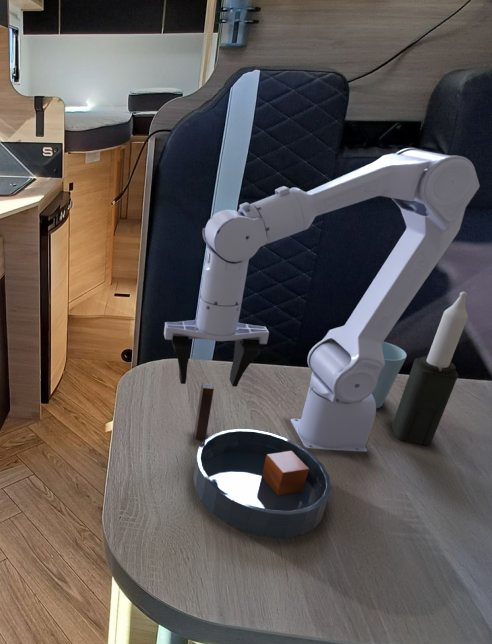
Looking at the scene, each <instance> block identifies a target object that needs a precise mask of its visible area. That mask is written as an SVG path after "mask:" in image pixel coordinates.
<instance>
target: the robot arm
mask: <svg viewBox="0 0 492 644" xmlns="http://www.w3.org/2000/svg"><path fill="white" fill-rule="evenodd" d="M479 188H480V181H479V178H478V175H477V171H476V168H475V166H474V163H473V162H472V161H471V160H470V159H468V158H467V157H465V156H461V155H448V154H443V153H438V152H433V151H426V150H423V149H420V148H416V147H407V148H403V149H400V150H398V151H396V152H395V153H389V154H384V155H382V156H381V157H379V158H378V159H376V160H375V161H373V162H371V163H369V164H365V166H362V167H360V168H357V169H355V170H353V171H351V172H348V173H346V174H343V175H342V176H339V177H337V178H335V179H333V180H331V181H328V182H326V183H323V184H322V185H321V184H320V185H319V186H317V187H315V188H313V189H309V190H308V191H304V190H303V189H300V188H298V187H291V188H289V187H287V186H284V185H283V186H280V187H278V188H276V189H274V193H275V194H272V195H270V196H267V197H265V198H262V199H260V200H257V201H254V202H251V203H249V202H243V203H241V204H239V209H238V210H236V209H235V210H234V209H222V210H220V211H217V212H216V213H214V214H213V215H212V216H211V218H210V219H208V221H207V223H206V225H205V227H203V228H202V239H203V241H204V243H205V244H206V245H207V247H206V255H205V262H204V264H203V265H204V266H203V271H202V272H203V273H202V279H201V287H200V294H199V301H198V310H197V317H196V319H193V320H192V319H191V320H182V321H165V322H164V328H163V336H164V340H166V341H167V340H168V341H171V344H172V347H173V351H174V353H175V355H176V359H177V363H178V372H179V373H178V375H179V377H178V378H179V382H180V384H181V385H186V383H187V377H188V376H187V375H188V365H189V359H190V355H191V352H192V349H191V346H190V343H191V342H190V340H209V341H214V342H229V341H231V342H232V341H234V350H233V351H234V352H233V358H232V364H231V369H230V372H229V381H230V384H231V386H232V387H233V388H234V387H238V386H239V383H240V380H241V379H242V377H243V375H244V373H245V372H246V371H247V369H248V367H249V366H250V365H251V363H252V362H253V361H254V360H255V359H256V358H258V357H259V355H260V353H261V347H260V345H267V344H268V340H269V335H270V331H269V330H268V329H267V327H266V326H262V325H255V324H254V325H253V324H249V323H248V324H247V323H243V322H242V323H241V322H239V320H240V315H241V309H242V303H243V297H244V291H245V285H246V280H247V274H248V268H249V267H248V266H249V262H250V261H249V260H250V259H251V258H253V257H254V256H255V255H256V253H257V252H258V251H259V249H260V248H261V247H263V246H266V245H268V244H272V243H274V242H277V241H279V240H282V239H285V238H287V237H290V236H292V235H295V234H297V233H300V232H303V231H306V230H308V229H309V228H310V227H311V225H312V224H313V222H314V220H315V218H316V217H318V216H321V215H324V214H327V213H331V212H333V211H336V210H339V209H343V208H345V207H349V206H352V205H355V204H358V203H361V202H364V201H368V200H370V199H373V198H376V197H385V198H391V200H392V201H393V202H394V203H395V204H396V205H397V207H398V208H399V209H400V212H401V214H402V217H403V220H404V223H405V230H404V231H403V233H402V235H401V236H400V238H399V239H398V241H397V243H396V244H395V246H394V248H393V249H392V250H391V252H390V254H389V255H388V257H387V258H386V260H385V261H384V263H383V264H382V266H381V268H379V271H378V272H377V274H376V276H375V277H374V278H373V280H372V282H371V284H369V286H368V288H367V290H366V291H365V292H364V294H363V296H362V297H361V299H360V300H359V302H358V303H357V305H356V307H355V308H354V310H352V313H351V315H350V316H349V318H347V321H346V322H345V324H344V325H342V326H338V327H335V328H332V329H329V330H328V331H327V333H326V335H325V336H324V337H323V338H322V340H320V341H319V342H317V343H316V344H315V345H314V346H312V348H311V349H310V350H309V352H308V355H307V360H306V362H307V365H308V368H309V369H310V370H311V375H310V378H311V379H310V383H309V387H308V390H307V394H306V398H305V402H304V407H303V410H302V414H301V417H300V418H290V419H289V420H290V422H291V425H292V426H293V428H294V429H295V431H296V433H297V435H298V437H299V439H300V440H301V443H302V444H303V446H304V448H305V449H312V450H313V449H314V450H327V451H328V450H330V451H349V452H365V453H366V452H368V449H367V447H366V446H367V445H368V444H367V443H368V440H369V438H370V434H371V431H372V428H373V425H374V423H375V420H376V415H377V408H376V403H375V399H374V397H373V395H372V392H373V391H374V390H375V388H376V386H377V383H378V376H379V374H380V372H381V370H382V369H383V367H384V366H385V361H384V356H383V351H382V343H383V342H385V339H386V338H387V337H388V336H389V334H390V332H391V331H392V330H393V328H394V327H395V325H396V324H397V323H398V321H399V319H400V318H401V317H402V315H403V314H404V312H405V311H406V309H407V308H408V306H409V305H410V304H411V302H412V300H413V299H414V297H415V296H416V294H417V293H418V292H419V290H420V289H421V288H422V286H423V284H424V283H425V281H426V280H427V278H428V277H429V276H430V274H431V273H432V271H433V270H434V268H435V267H436V265H437V264H438V262H440V259H441V258H442V257H443V255H444V254H445V252H447V249H448V248H449V247H450V245H451V244H452V242H453V240H454V239H455V238H456V236H457V235H458V233H459V231H460V230H461V227H462V223H463V219H464V215H465V212H466V208H467V206H468V205H469V203H470V202H471V200H472V199H473V198H474V196H475V194H476V193H477V192H478V190H479Z"/></svg>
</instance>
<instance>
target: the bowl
mask: <svg viewBox="0 0 492 644" xmlns="http://www.w3.org/2000/svg"><path fill="white" fill-rule="evenodd" d="M286 451H292V452H293V453H294V454H295V455H296V456H297V457H298V458H299V459H300V460H301V461H302V462H303V463H304V464H305V465H306V466H307V467H308V468H309V471H308V474H307V478H306V482H305V485H304V489H303V491H301V492H295V493H289V494H283V495H277V494H276V493H275V492H274V491H273V489H272V488H271V487H270V486H269V485H268V483H267V482H266V481H265V480H264V479H263V477H262V473H263V468H264V464H265V460H266V455H267V454H272V453H279V452H286ZM192 480H193V481H192V482H193V487H194V491H195V493H196V495H197V497H198V498H199V500H200V502H201V503H202V504H203V505H204V506H205V508H206V509H207V510H208V511H210V512H211V513H212V514H213V515H214V516H216V517H217V518H218V519H219V520H221V521H222V522H224V523H226V524H227V525H229V526H232V527H233V528H235V529H237V530H240V531H242V532H245V533H249V534H251V535H255V536H260V537H265V538H272V539H273V538H274V539H286V538H294V537H298V536H302V535H304V534H307V533H309V532H310V531H312V530H314V529H315V528H316V527H317V526H318V524H320V523H321V521H322V520H323V516H324V514H325V510H326V506H327V504H328V500H329V497H330V494H331V491H332V483H331V478H330V475H329V473H328V471H327V470H326V468H325V465H324V464H323V463H322V462H321V461H320V460H319V459H318V458H317V457H316V456H315V455H314V454H313V453H312V452H310V451H309V450H308V449H307V448H305V447H303V446H302V445H300V444H298V443H297V442H294V441H292V440H290V439H288V438H286V437H283V436H280V435H277V434H275V433H271V432H268V431H262V430H257V429H247V428H236V429H234V428H233V429H227V430H226V429H225V430H222V431H219V432H216V433H213V434H212V435H210V436H208V437H206V439H205V440H203V441H202V442H201V444H200V445H199V447H198V448H197V452H196V458H195V464H194V470H193V477H192Z"/></svg>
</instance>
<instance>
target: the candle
mask: <svg viewBox="0 0 492 644" xmlns="http://www.w3.org/2000/svg"><path fill="white" fill-rule="evenodd" d="M467 296H468V293H467V292H466V291H461V292H460V293H459V296H458V298H457V299H456V300H455V301H454V302H453V304H452V305H450V306H449V307H448V308H447V309H445V310H444V311H443V314H442V316H441V319H440V322H439V325H438V327H437V330H436V332H435V335H434V338H433V342H432V344H431V346H430V349H429V351H428V354H427V355H423V356H421V357H416V358H415V359H414V361H413V363H412V367H411V369H410V372H409V375H408V378H407V381H406V383H405V387H404V389H403V391H402V394H401V398H400V400H399V404H398V406H397V409H396V412H395V414H394V418H393V420H392V423H391V429H392V431H393V434H394V436H395V438H396V439H397V440H399V441H402V442H405V443H406V442H408V443H413V444H418V445H422V446H426V447H427V446H431V445H432V442H433V441H434V438H435V435H436V432H437V430H438V427H439V425H440V423H441V420H442V417H443V416H444V415H443V414H444V413H445V409H446V408H447V405H448V402H449V400H450V398H451V395H452V392H453V390H454V388H455V385H456V383H457V380H458V378H459V374H458V372H457V370H456V365H455V364H454V363H453V362H452V359H453V357H454V354H455V351H456V349H457V346H458V345H459V341H460V338H461V336H462V334H463V330H464V328H465V325H466V323H467V321H468V318H469V315H468V312H467V310H466V297H467Z"/></svg>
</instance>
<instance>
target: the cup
mask: <svg viewBox="0 0 492 644" xmlns="http://www.w3.org/2000/svg"><path fill="white" fill-rule="evenodd" d="M382 351H383V356H384V361H385V366H384V367H383V369H382V370H381V372H380V374H379V376H378V383H377V386H376V388H375V390H374V391H373V392H372V395H373V397H374V399H375V403H376V409H379V408H381V407H382V406H383V405H384V403H385V401H386V398H387V396H388V395H389V392H390V391H391V389H392V386H393V384H394V383H395V380H396V379H397V377H398V374H399V373H400V371H401V369H402V367H403V365H404V363H405V361H406V359H407V357H408V356H407V352H406V351H405V350H404V349H402V348H400V347H399V346H397V345H396V344H392V343H389V342H386V341H383V343H382Z"/></svg>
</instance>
